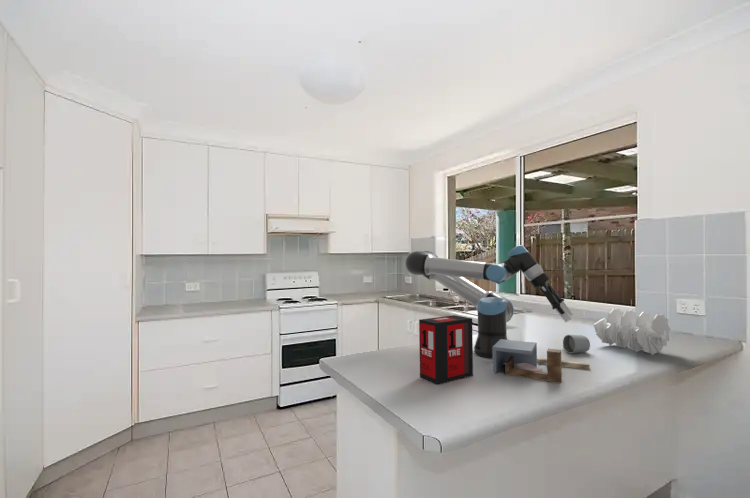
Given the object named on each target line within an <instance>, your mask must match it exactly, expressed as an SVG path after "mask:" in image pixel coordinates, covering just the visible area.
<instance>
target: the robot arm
mask: <svg viewBox="0 0 750 498" xmlns="http://www.w3.org/2000/svg"><path fill="white" fill-rule="evenodd" d="M507 254H508V256H509V257H507V259H505V260H504V261H502V262H500V263H493V262H484V261H483V262H482V261H473V260H472V261H471V260H462V259H452V258H451V259H450V258H440V257H438V255H437V254H436V253H434V252H433V251H429V250H428V251H427V250H424V251H418V250H417V251H412V252H410V253H409V254H408V255H407V257H406V259H405V267H406V269H407V271H408V272H409V273H410V274H412V275H413V276H423V277H424V278H426V279H427V280H429V281H436V282H438V283H439V284H440V285H442V286H444V287H445V288H446V289H448V290H449V291H451V292H452V293H454V294H456V295H457V296H458V297H460V298H462V299H463V300H465V301H466V302H468V303H469V304H471V305H472V306H474V307H475V308H476V311H477V337H476V340H475V344H474V348H473V354H474V355H476V356H479V357H482V358H486V359H487V358H488V359H493V354H492V347H493V346H494V345H495V344H496V343H497V342H498V341H499V340H500V339H505V340H509V339H508V335H507V323H508V322H510V321H511V319H512V318H513V316H514V313H515V311H514V310H515V307H514V305H513V303H512V302H511V300H509V299H508V298H507V297H504V296H500V295H498V294H497V293H495V292H494V291H491V290H490V291H485V290H484V289H482V288H481V287H479V286H478V285H477V284H474V283H473V282H471V281H470V280H469V279H475V280H482V281H489V282H490V281H491V282H492V283H496V284H497V285H501V284H503V283H505V282H506V281H507V280H509V279H511V278H512V277H513V276H515V275H516V274H518V273H520V271H521V273H522V274H523V276H525V278H526V279H527V281H530V284H531V286H533V288H534V289H538V288H539V287H540V288H539V290H540V291H541V293H543V295H544V296H545V298H546V299H547V300H548V302H549V303H550V305H551V309H552V310H555V311H556V313H558V314H559V316H560V317H561V318H562V320H563V321H564V322H565V323H567V322H569V321H570V320H572V317H571V316H572V315H574V313H573V312H572V310H571V308H569V306H568V305H567V304H566V302H565V299H564V298H562V297H561V296H560V295H559V294H558V293H557V292H556V290H555V289H554V288H553V287H552V285H551V284H550V283H548V281H549V280H550V276H549V275H548V274H547V273H546V272H544V269H543V267H542V265H541V264H539V263H538V262H537V260H536V259H535V257H533V255H532V254H531V253H530V251H529V250H527V248H526V247H525V246H524V245H523V244H518V245H516V246H514V247H512V249H511V250H509V251H508V253H507Z"/></svg>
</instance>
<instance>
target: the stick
mask: <svg viewBox="0 0 750 498" xmlns="http://www.w3.org/2000/svg"><path fill="white" fill-rule="evenodd" d="M537 364H539V365H547V358H545V357H543V358H542V357H537ZM561 364H562V367H565V368H573V369H574V368H575V369H581V370H589V371H590V369H591V366H590V365H591V364H590V363H585V362H579V361H577V362H576V361H567V360H561Z"/></svg>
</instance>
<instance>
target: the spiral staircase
mask: <svg viewBox="0 0 750 498" xmlns="http://www.w3.org/2000/svg"><path fill="white" fill-rule="evenodd" d="M593 327H594V330H595V335H596V337H598V338H599V339H600V341H601V343H603V344H608V346H612V345H613V344H614V345H615V347H622V349H626V348H629V349H631V350H634V351H635V353H637V352H640V351H641V350H642V352H646V353H648V354H649V353H650V355H651V356H654V355H655V354H657V353H658V354H661V352H662V350H663V347H667V346H668V345H667V342H669V341H670V336H669V335H670V331H671V328H670V326H669V319H668V318H667V317H665V313H661V314H659V313H656V314H655V316H654V318H653V317H652V316H651V315H650V312H645V311H642V312H641V313H640V314H639V315H638V313H637V312H634V310H633V309H625V311H624V312H623V311H621V308H620V307H619V308H612V309H611V311H610V312H609V313H608V315H607V319H606V317H603V318H602V319H601V318H600V320H598V321H596V322H595V323H594V324H593Z"/></svg>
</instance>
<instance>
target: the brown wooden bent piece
mask: <svg viewBox="0 0 750 498" xmlns="http://www.w3.org/2000/svg"><path fill="white" fill-rule="evenodd" d="M546 359H547V364H546V367H547V369H546V370H547V371H546V372H545V371H544V372H543V371H542V372H538V371H531V370H523V369H516V368H514V357H513V356H511V357H510V358H509V359H508V360H507V362H506V363H505V364H504V365H505V367H504V368H505V370H504V371H505V373H504V375H505V376H513V377H514V376H515V377H521V378H527V379H528V378H529V379H535V380H540V381H541V380H542V381H547V382H549V383H556V384H561V383H562V381H563V379H562V378H563V376H562V375H563V372H562V370H563V369H562V367H563V366H562V364H561V361H562V349H557V348H556V349H555V348H547V350H546Z"/></svg>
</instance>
